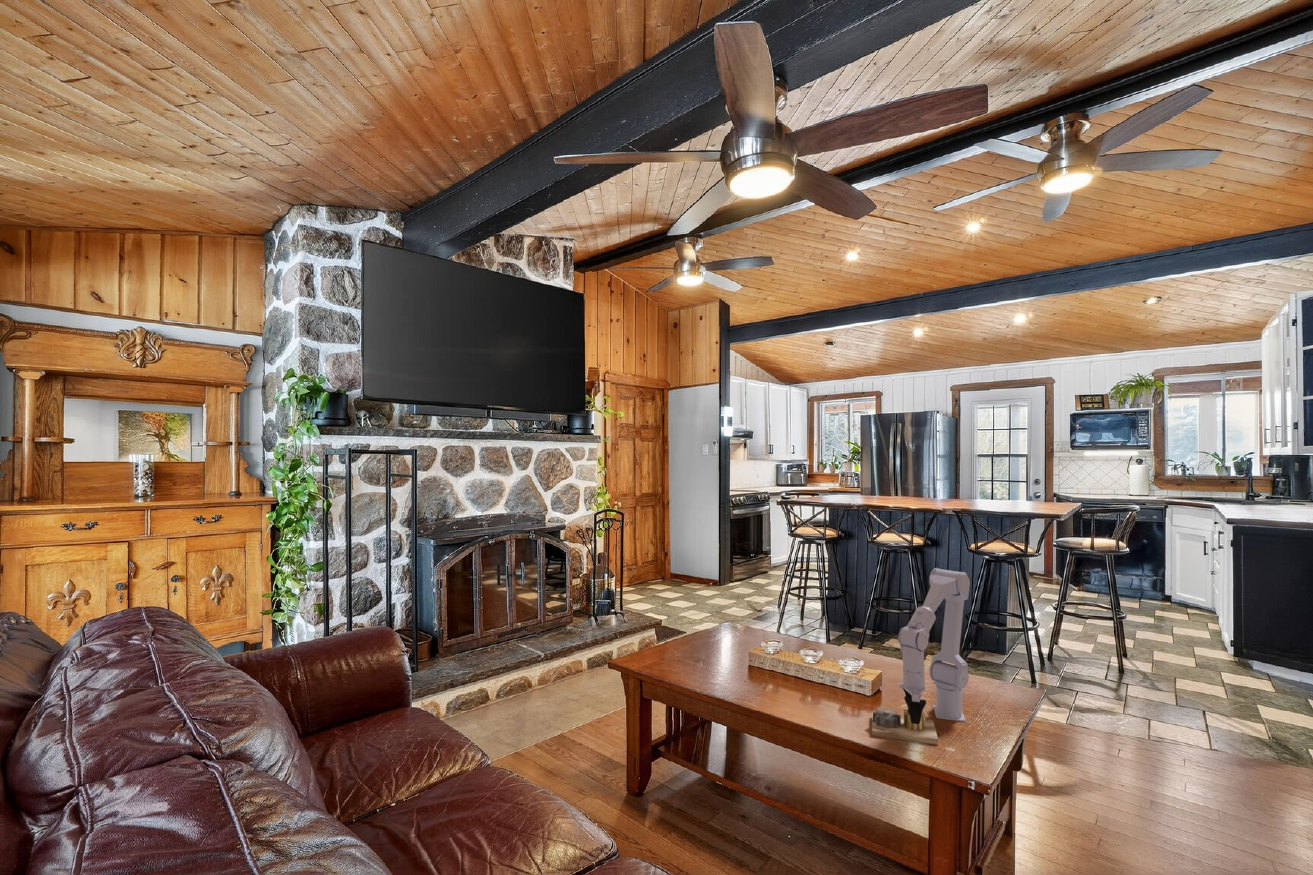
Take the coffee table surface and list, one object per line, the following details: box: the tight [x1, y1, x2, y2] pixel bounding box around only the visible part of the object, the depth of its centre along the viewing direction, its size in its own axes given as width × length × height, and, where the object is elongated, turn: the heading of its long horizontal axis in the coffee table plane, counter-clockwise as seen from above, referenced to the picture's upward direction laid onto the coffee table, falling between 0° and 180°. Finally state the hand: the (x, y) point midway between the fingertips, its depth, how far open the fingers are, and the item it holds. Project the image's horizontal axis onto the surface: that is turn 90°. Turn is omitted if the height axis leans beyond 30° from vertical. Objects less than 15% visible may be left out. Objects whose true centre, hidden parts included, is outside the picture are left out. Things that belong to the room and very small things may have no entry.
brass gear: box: [903, 708, 926, 731], centre depth 174 cm, size 6×6×4 cm
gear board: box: [871, 708, 939, 746], centre depth 175 cm, size 13×17×5 cm
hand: (914, 717), depth 174 cm, fingers open, 7 cm apart
